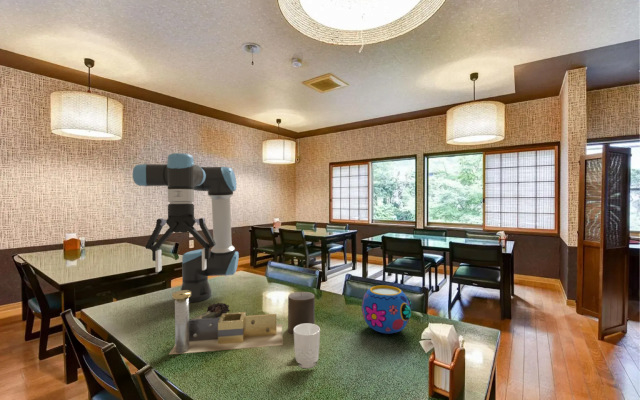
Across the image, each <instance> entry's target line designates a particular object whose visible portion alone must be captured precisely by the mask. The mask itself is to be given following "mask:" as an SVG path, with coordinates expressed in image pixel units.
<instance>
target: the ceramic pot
mask: <svg viewBox="0 0 640 400" xmlns="http://www.w3.org/2000/svg"><path fill="white" fill-rule="evenodd" d="M361 301H362V302H361V311H362V312H361V314H362V316H363V318H364V321H365V323H366V325H367V326H368V327H369V328H370V329H372V330H374V331H375V332H378V333H381V334H385V335H388V334H390V335H391V334H395V333H398V332H401V331H403V330H404V329H405V328H406V326H407V324H408V323H409V321H410V318H411V316H412V311H411V310H412V309H411V306H412V302H411V299H410V298H409V296H407V295H406V293H404V291H403V290H402V289H400V288H399V287H395V286H392V285H376V286H375V285H374V286H372V287H370V288H369V289H367V291H366V292H365V293H364V295H363V298H362V300H361Z"/></svg>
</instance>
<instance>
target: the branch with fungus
mask: <svg viewBox="0 0 640 400" xmlns="http://www.w3.org/2000/svg"><path fill="white" fill-rule="evenodd" d="M229 308H230V306H229V305H228V304H227V303H223V302H216V303H213V304H209V305H208V306H207V310H206V311H205V312H203V313H201V314H199V315H197V316H194V317H192V318H189V320H190V319H205V318H220V317H221V315H222V313H230V312H231V310H230V309H229Z"/></svg>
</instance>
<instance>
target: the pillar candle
mask: <svg viewBox="0 0 640 400" xmlns="http://www.w3.org/2000/svg"><path fill="white" fill-rule="evenodd" d="M315 307H316V306H315V294H314V293H312V292H309V291H296V292H291V293H290V294H288V298H287V333H289V335H292V336H294V327H295V326H297V325H300V324H304V323H311V324H315V316H316V315H315ZM315 325H316V324H315Z"/></svg>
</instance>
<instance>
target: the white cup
mask: <svg viewBox="0 0 640 400" xmlns="http://www.w3.org/2000/svg"><path fill="white" fill-rule="evenodd" d="M320 333H321V328H320V326H319V325H317V324H311V323H304V324H300V325H297V326H295V327H294V335H293V346H294V355H295V361H296V363H298V364H297V367H299V368H302V369H311V368H314V367H316V366H317V365H318V360H319V352H320Z"/></svg>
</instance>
